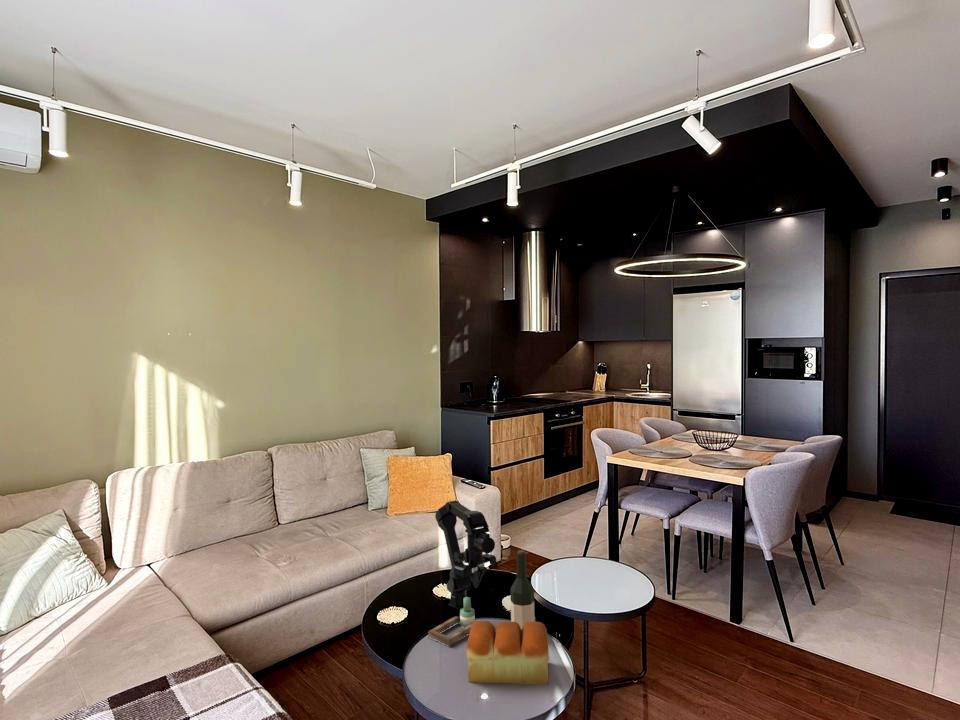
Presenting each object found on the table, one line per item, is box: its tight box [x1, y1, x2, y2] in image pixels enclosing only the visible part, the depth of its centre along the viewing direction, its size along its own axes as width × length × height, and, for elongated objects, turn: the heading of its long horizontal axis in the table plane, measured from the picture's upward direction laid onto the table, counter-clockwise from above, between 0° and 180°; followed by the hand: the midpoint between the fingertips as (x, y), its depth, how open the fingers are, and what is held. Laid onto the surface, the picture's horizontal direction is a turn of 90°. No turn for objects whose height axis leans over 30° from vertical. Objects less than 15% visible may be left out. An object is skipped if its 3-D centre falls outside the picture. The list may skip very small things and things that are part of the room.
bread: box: [466, 620, 550, 685], centre depth 165 cm, size 25×12×15 cm, turn 85°
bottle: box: [459, 596, 476, 627], centre depth 195 cm, size 6×6×10 cm
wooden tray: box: [427, 615, 472, 647], centre depth 189 cm, size 14×10×2 cm
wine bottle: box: [509, 549, 536, 637], centre depth 187 cm, size 8×8×30 cm
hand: (476, 587), depth 200 cm, fingers closed
